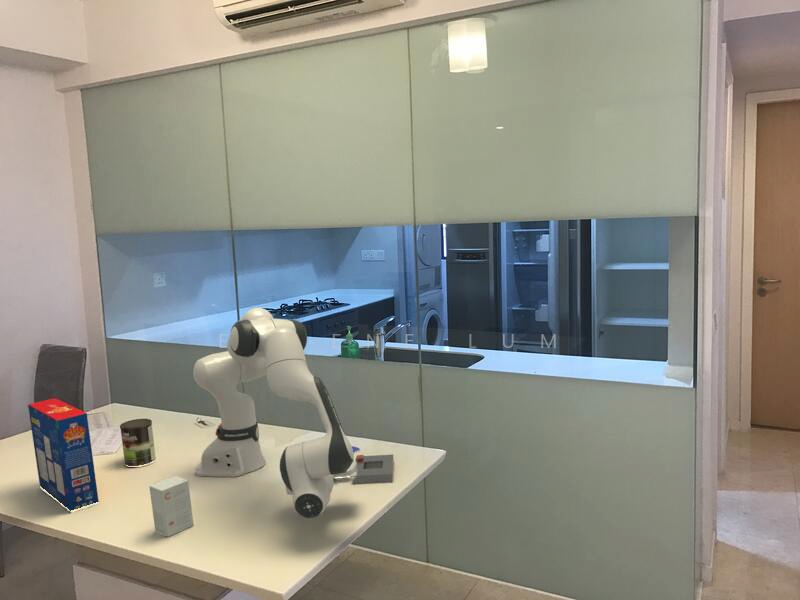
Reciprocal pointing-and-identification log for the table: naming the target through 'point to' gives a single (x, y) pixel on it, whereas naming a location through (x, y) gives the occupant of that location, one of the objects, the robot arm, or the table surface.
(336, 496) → the table surface
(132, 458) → the coffee can
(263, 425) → the table surface
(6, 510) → the table surface
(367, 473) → the socket plate
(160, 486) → the small box
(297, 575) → the table surface
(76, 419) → the blue cereal box
